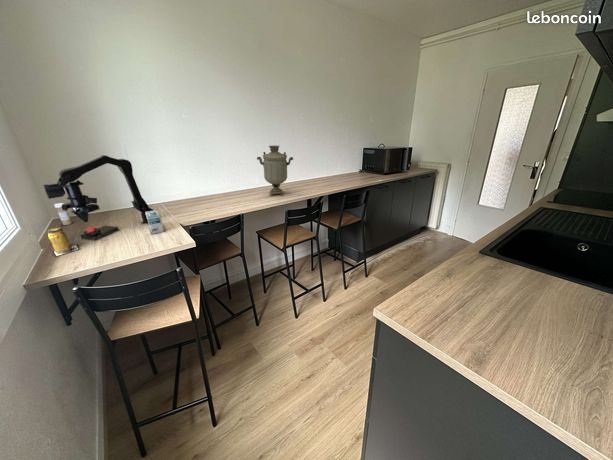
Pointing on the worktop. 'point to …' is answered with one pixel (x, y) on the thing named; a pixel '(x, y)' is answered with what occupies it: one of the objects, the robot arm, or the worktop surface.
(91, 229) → the button
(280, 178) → the samovar
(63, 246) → the condiment
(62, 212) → the sprinkles bottle
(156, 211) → the light bulb box
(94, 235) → the black control pad
